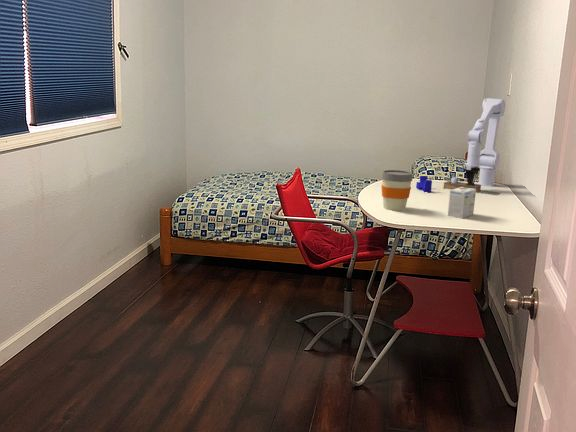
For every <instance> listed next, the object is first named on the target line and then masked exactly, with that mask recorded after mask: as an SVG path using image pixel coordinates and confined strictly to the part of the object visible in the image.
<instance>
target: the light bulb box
mask: <svg viewBox="0 0 576 432" xmlns="http://www.w3.org/2000/svg"><path fill="white" fill-rule="evenodd" d="M476 194H477V192H476V189H473V188H466V187H459V188H456V189H453V190H452V189H449V197H448V208H447V216H449V217H453V218H458V219H465V218H468V217H471V216H473V215H474V214H475V213H474V212H475V210H474V209H475V203H476V196H477V195H476Z"/></svg>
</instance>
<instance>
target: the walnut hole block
mask: <svg viewBox="0 0 576 432" xmlns="http://www.w3.org/2000/svg"><path fill="white" fill-rule="evenodd" d="M451 181H452V180H447V181H445V182H443V190H453V189H456V188H459V187H466V188H473V189H476V193H478V192H480V191H481V189H482V188H481V187H482V186H481V185H479V184H477V183H474V186H470V185H468V183H467V182H461V181H458V184H454V183H451Z"/></svg>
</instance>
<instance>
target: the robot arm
mask: <svg viewBox="0 0 576 432" xmlns="http://www.w3.org/2000/svg"><path fill="white" fill-rule="evenodd" d="M481 106H482V113H481V116H480V118H478V119H476V122H475V124H474V126H473V127H472V129H471V130H469V131H468V133H467V145H468V149H467V150H468V151H467V159H466V162H465V163H463V165H464V166H466V167H465V168H464V172H465V174H466V181H467V182H466V183H469V184H472V183H473V179H474V176H475V180H476V178H477V175H478V174H479V175H478V182H477V183H476V184H479V185H481V187H489V188H492V187H494V186H496V183H495V178H496V169H497V168H498V167H499V165H500V153H499V152H498V151H497V150H496V144H497V143H496V142H497V139H498V137H497V136H498V132H499V131H498V130H499V124H500V120H501V117H503V116H504V114H505V110H506V100H505V99H504V98H491V97H490V98H488V97H485V98H484V99H483V101H482V105H481ZM486 131H487V133H485V132H486ZM485 135H486V140H485V145H484V149H482V144H483V142H484V139H485ZM481 149H482V150H481ZM475 173H476V175H475Z"/></svg>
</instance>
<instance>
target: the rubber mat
mask: <svg viewBox="0 0 576 432" xmlns="http://www.w3.org/2000/svg"><path fill="white" fill-rule="evenodd" d="M480 194H483V195H491V196H499V195H500V194H502V192H496V191H490V190H489V191H488V190H483V191H482V192H480Z"/></svg>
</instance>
